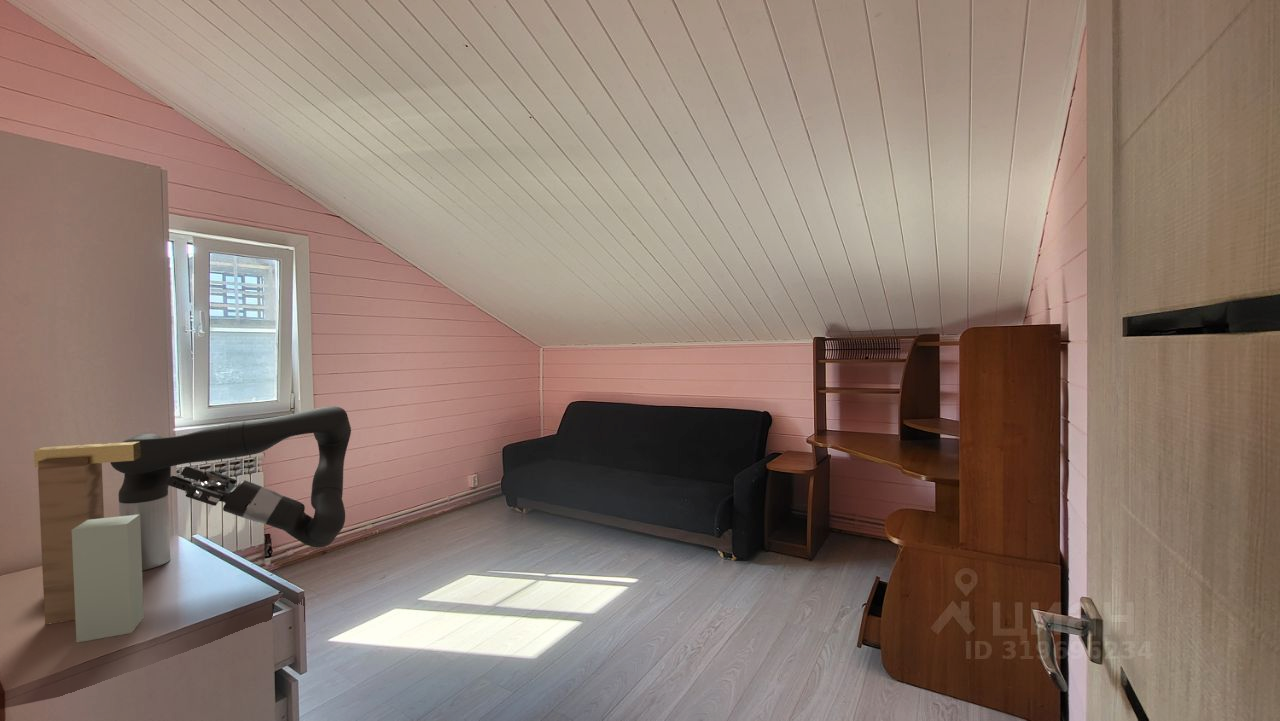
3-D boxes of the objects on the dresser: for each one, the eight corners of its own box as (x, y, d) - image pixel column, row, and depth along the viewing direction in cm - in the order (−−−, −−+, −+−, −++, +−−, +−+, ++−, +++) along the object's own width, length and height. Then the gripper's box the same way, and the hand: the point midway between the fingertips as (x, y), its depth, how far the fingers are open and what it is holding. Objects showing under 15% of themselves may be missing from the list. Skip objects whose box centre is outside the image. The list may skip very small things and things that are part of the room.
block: (92, 627, 107) (87, 519, 106) (143, 618, 111) (139, 514, 110) (76, 642, 102) (71, 529, 101) (131, 633, 105) (127, 523, 104)
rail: (44, 463, 111) (44, 447, 110) (140, 457, 117) (140, 441, 117) (34, 467, 108) (33, 450, 107) (133, 460, 114) (133, 444, 114)
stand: (64, 608, 114) (57, 454, 113) (107, 601, 117) (101, 451, 116) (45, 624, 108) (37, 461, 106) (91, 617, 111) (84, 458, 109)
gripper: (269, 480, 132) (197, 452, 126) (256, 496, 119) (175, 466, 113) (251, 507, 131) (177, 481, 124) (236, 527, 118) (153, 498, 112)
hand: (176, 474), depth 119 cm, fingers open, 8 cm apart
